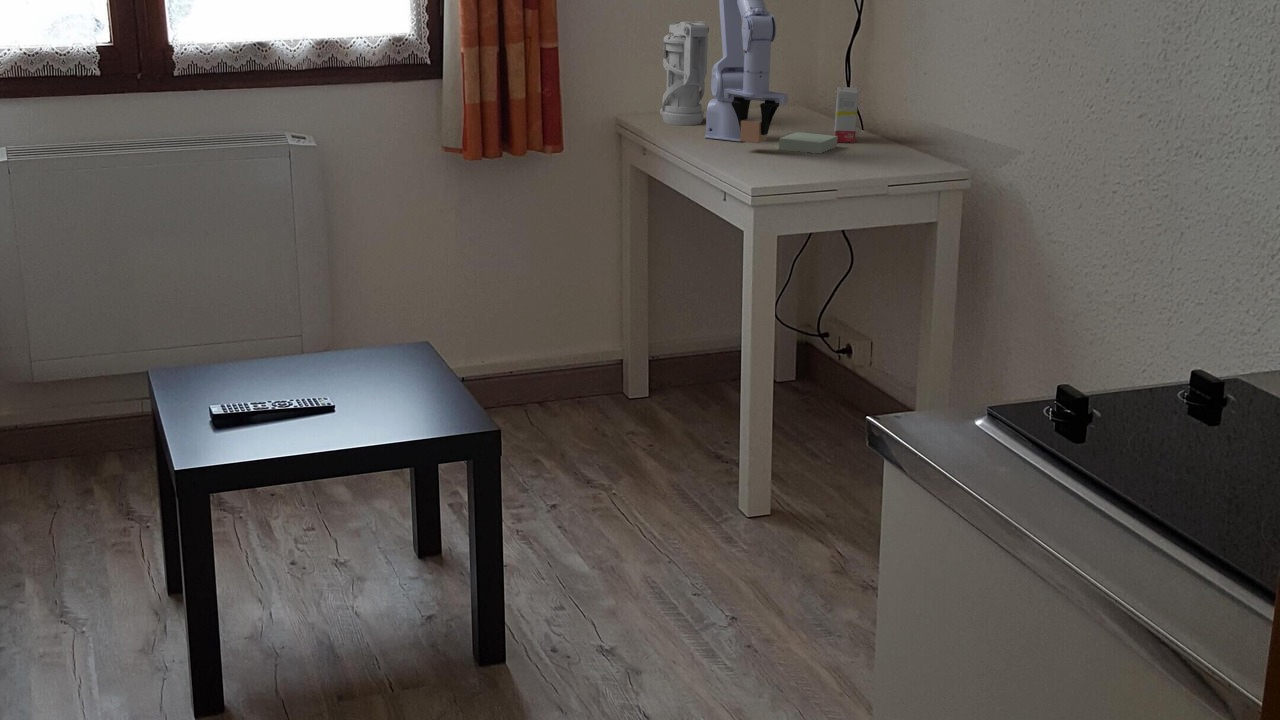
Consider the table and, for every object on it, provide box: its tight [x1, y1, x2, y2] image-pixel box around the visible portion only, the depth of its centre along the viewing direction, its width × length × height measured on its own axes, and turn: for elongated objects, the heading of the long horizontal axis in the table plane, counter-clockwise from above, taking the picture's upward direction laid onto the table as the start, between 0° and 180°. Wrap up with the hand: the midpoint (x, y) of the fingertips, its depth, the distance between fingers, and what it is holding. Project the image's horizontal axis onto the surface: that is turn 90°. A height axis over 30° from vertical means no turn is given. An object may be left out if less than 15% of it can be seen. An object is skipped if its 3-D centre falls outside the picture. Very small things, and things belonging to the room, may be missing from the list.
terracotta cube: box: [739, 117, 768, 144], centre depth 303 cm, size 4×4×4 cm
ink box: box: [833, 86, 859, 144], centre depth 317 cm, size 9×5×12 cm, turn 173°
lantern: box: [659, 20, 710, 126], centre depth 335 cm, size 13×10×25 cm
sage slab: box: [778, 131, 838, 154], centre depth 308 cm, size 10×10×2 cm
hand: (753, 133), depth 303 cm, fingers closed on terracotta cube, 4 cm apart
